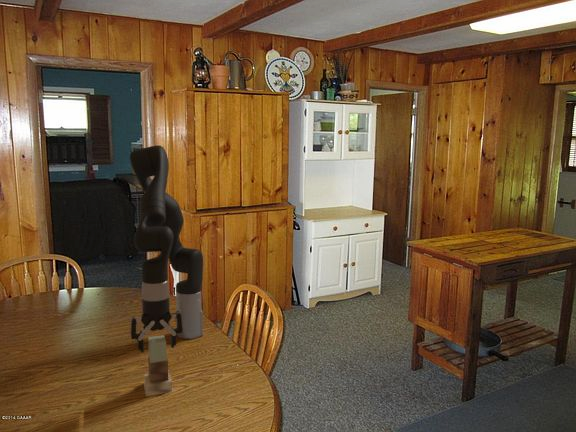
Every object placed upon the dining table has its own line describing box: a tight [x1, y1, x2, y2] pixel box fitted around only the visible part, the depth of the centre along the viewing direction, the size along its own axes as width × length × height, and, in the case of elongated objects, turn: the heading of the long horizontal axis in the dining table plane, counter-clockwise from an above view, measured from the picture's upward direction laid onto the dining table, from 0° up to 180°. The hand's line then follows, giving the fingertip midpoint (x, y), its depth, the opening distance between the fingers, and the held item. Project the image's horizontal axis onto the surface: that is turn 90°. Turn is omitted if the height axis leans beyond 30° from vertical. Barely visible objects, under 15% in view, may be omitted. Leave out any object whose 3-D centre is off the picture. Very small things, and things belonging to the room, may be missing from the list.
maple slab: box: [143, 370, 173, 396], centre depth 142 cm, size 7×7×3 cm
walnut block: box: [147, 355, 169, 383], centre depth 142 cm, size 5×5×6 cm
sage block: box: [147, 334, 168, 363], centre depth 141 cm, size 4×4×6 cm
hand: (157, 349), depth 141 cm, fingers open, 8 cm apart
